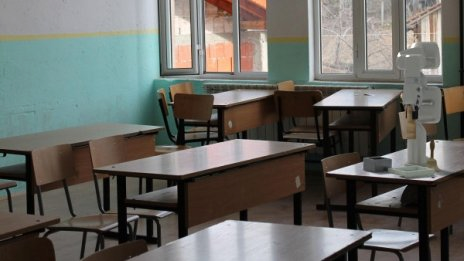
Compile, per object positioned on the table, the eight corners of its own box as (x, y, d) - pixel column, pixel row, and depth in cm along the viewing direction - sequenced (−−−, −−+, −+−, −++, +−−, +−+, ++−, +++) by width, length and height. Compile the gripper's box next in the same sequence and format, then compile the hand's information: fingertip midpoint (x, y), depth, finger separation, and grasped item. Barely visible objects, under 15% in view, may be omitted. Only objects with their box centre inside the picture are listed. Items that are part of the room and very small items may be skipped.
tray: (416, 171, 433) (416, 165, 432) (434, 175, 420) (434, 169, 420) (388, 174, 425) (388, 168, 425) (405, 178, 413) (405, 171, 413)
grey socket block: (380, 170, 438) (380, 156, 437) (391, 173, 429) (391, 158, 428) (363, 171, 434) (363, 157, 433) (374, 174, 425) (374, 160, 424)
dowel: (412, 138, 424) (412, 105, 422) (418, 138, 420) (418, 105, 418) (405, 138, 422) (405, 105, 420) (410, 139, 418) (410, 106, 416)
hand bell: (421, 169, 439) (421, 138, 437) (437, 169, 440) (437, 137, 438) (426, 172, 431) (426, 140, 429) (442, 171, 431) (443, 139, 430)
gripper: (429, 81, 412) (429, 119, 414) (408, 80, 427) (407, 117, 429) (416, 81, 409) (416, 120, 411) (395, 80, 424) (395, 117, 426)
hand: (411, 118), depth 420 cm, fingers closed on dowel, 4 cm apart
